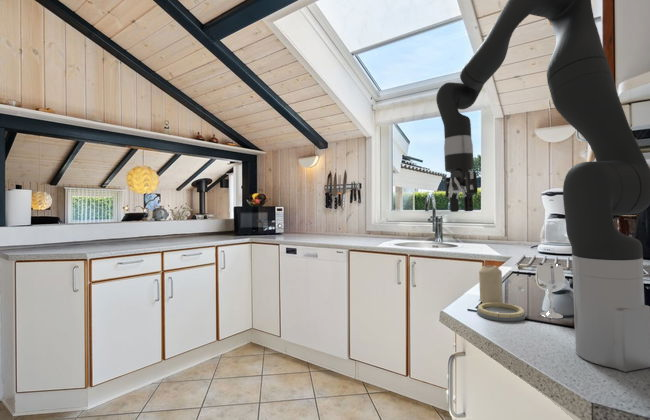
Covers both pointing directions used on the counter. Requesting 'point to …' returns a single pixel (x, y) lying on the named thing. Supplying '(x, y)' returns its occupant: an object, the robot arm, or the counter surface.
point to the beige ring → (501, 312)
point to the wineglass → (550, 283)
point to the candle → (490, 284)
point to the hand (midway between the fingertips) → (461, 211)
